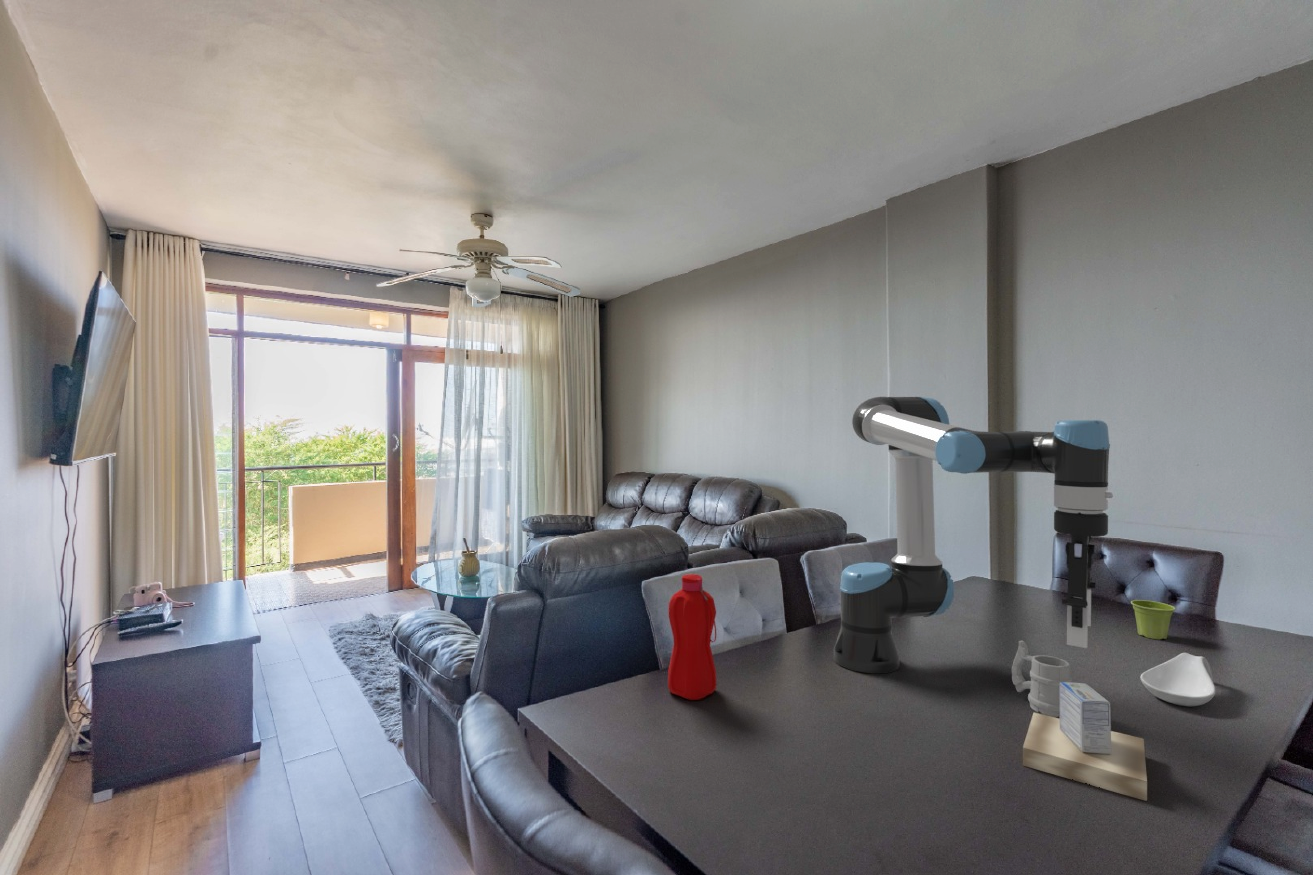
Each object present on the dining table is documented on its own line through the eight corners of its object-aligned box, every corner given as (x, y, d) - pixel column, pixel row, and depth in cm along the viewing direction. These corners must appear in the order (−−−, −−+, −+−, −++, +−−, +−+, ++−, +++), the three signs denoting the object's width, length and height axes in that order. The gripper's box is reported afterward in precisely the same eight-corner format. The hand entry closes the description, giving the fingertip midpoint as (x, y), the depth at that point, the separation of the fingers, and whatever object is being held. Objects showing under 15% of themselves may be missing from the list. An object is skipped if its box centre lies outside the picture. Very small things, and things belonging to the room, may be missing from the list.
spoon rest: (1208, 719, 116) (1208, 682, 116) (1132, 698, 125) (1132, 664, 125) (1233, 688, 130) (1233, 655, 130) (1164, 671, 140) (1164, 641, 140)
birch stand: (1022, 765, 100) (1022, 747, 100) (1033, 728, 112) (1033, 712, 112) (1146, 801, 90) (1147, 781, 90) (1143, 756, 102) (1143, 738, 102)
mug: (1058, 722, 115) (1058, 659, 115) (1000, 697, 125) (1000, 640, 125) (1082, 714, 118) (1082, 653, 118) (1023, 691, 129) (1023, 635, 129)
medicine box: (1112, 755, 97) (1112, 702, 97) (1081, 753, 98) (1081, 700, 98) (1086, 732, 105) (1086, 682, 105) (1058, 729, 105) (1058, 680, 105)
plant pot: (1171, 634, 165) (1171, 603, 165) (1178, 644, 157) (1178, 611, 157) (1128, 628, 170) (1128, 598, 170) (1133, 637, 163) (1133, 606, 163)
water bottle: (702, 707, 121) (702, 584, 121) (661, 692, 128) (661, 575, 128) (728, 693, 127) (728, 576, 127) (689, 679, 135) (689, 568, 135)
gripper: (1106, 521, 90) (1105, 661, 90) (1109, 505, 109) (1108, 620, 110) (1047, 516, 94) (1045, 650, 95) (1059, 502, 114) (1058, 612, 114)
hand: (1079, 634), depth 102 cm, fingers open, 13 cm apart
